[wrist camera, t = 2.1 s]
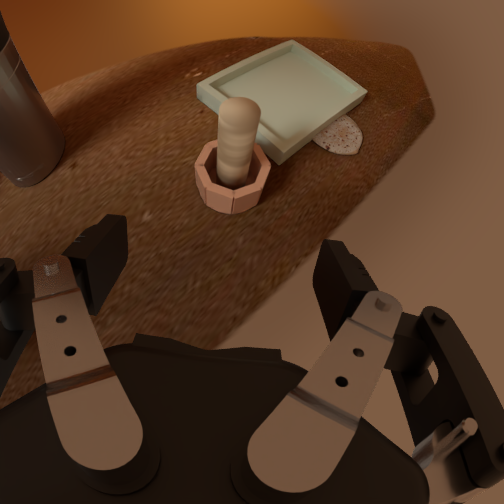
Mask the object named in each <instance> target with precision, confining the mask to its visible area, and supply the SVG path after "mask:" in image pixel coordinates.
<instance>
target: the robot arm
mask: <svg viewBox="0 0 504 504" xmlns="http://www.w3.org/2000/svg"><path fill="white" fill-rule="evenodd" d="M64 146H65V139H64V135H63V133H62V131H61V129H60V128H59V126H58V124H57V123H56V121H55V119H54V118H53V116H52V114H51V112H50V111H49V109H48V107H47V106H46V104H45V102H44V100H43V99H42V97H41V95H40V93H39V91H38V90H37V88H36V86H35V84H34V83H33V81H32V79H31V77H30V75H29V73H28V71H27V69H26V67H25V65H24V64H23V61H22V60H21V57H20V56H19V54H18V52H17V50H16V47H15V45H14V43H13V41H12V39H11V37H10V35H9V32H8V30H7V28H6V26H5V23H4V20H3V18H2V15H1V12H0V171H1V172H2V173H3V174H4V175H5V176H6V177H7V178H8V179H9V180H10V181H11V182H12V183H13V184H15V185H16V186H19V187H28V186H32V185H34V184H36V183H38V182H40V181H41V180H43V179H44V178H45V177H46V176H47V175H48V174H49V173H50V172H51V171H52V170H53V169H54V168H55V166H56V165H57V163H58V162H59V160H60V158H61V156H62V153H63V150H64ZM127 258H128V240H127V221H126V217H125V216H123V215H112V214H107V215H106V216H105V217H104V218H103V219H102V220H101V221H100V222H99V223H98V224H97V225H93V226H91V227H89V228H87V229H85V230H84V231H83V232H82V233H81V234H80V235H79V237H77V238H76V239H75V240H74V242H72V244H71V245H70V246H69V247H68V248H67V249H66V250H65V251H64V252H63V253H62V254H61V255H50V256H47V257H44V258H42V259H40V260H39V261H37V262H36V263H35V265H34V266H33V270H29V271H17V269H16V265H15V261H14V260H13V259H11V258H0V320H1V321H0V397H1V394H2V392H3V390H4V388H5V386H6V383H7V381H8V379H9V377H10V375H11V373H12V371H13V369H14V367H15V365H16V363H17V361H18V359H19V357H20V355H21V353H22V351H23V350H24V348H25V346H26V344H27V342H28V340H29V339H30V337H31V335H32V333H33V331H34V330H36V335H37V341H38V347H39V352H40V357H41V362H42V367H43V371H44V375H45V380H46V383H45V384H43V385H41V386H40V387H38V388H36V389H34V390H33V391H31V392H29V393H28V394H26V395H24V396H23V397H21V398H19V399H17V400H16V401H14V402H12V403H11V404H9V405H7V406H6V407H4V408H2V409H0V504H463V503H465V502H466V501H468V500H470V499H472V498H473V497H475V496H477V495H479V494H480V493H482V492H484V491H485V490H487V489H489V488H490V487H492V486H493V485H495V484H496V483H498V482H499V481H501V480H502V479H504V409H503V407H502V405H501V403H500V401H499V399H498V397H497V395H496V393H495V391H494V389H493V387H492V385H491V383H490V381H489V380H488V378H487V376H486V374H485V372H484V371H483V369H482V367H481V365H480V363H479V362H478V360H477V358H476V356H475V355H474V353H473V351H472V349H471V348H470V346H469V344H468V343H467V341H466V340H465V338H464V336H463V335H462V333H461V331H460V330H459V328H458V327H457V325H456V324H455V322H454V321H453V319H452V318H451V317H450V315H449V314H448V313H446V312H445V311H443V310H442V309H439V308H437V307H433V306H427V307H425V308H424V309H423V311H422V312H421V314H420V316H415V315H411V314H408V313H404V312H402V306H401V304H400V302H399V301H398V300H397V299H396V298H394V297H393V296H391V295H390V294H387V293H385V292H382V291H379V290H378V288H377V286H376V285H375V283H374V282H373V280H372V278H371V276H369V273H368V272H367V270H365V267H364V265H363V264H362V262H361V261H360V260H359V259H358V258H357V257H355V256H354V255H353V254H350V253H349V251H348V250H347V248H346V246H345V245H344V243H343V242H342V241H336V240H328V239H324V240H323V242H322V245H321V248H320V252H319V255H318V259H317V262H316V266H315V269H314V273H313V288H314V291H315V294H316V297H317V300H318V303H319V306H320V309H321V313H322V316H323V319H324V322H325V325H326V329H327V332H328V335H329V338H330V344H329V345H328V346H327V348H326V349H325V350H324V352H323V353H322V355H321V356H320V357H319V359H318V360H317V361H316V363H315V364H314V365H313V367H312V368H311V369H310V371H307V370H305V369H303V368H302V367H300V366H298V365H295V364H293V363H290V362H287V361H284V360H282V357H281V350H280V349H266V348H252V347H240V348H230V349H219V350H204V349H200V348H197V347H194V346H191V345H188V344H185V343H182V342H179V341H176V340H173V339H170V338H163V337H157V336H150V335H144V334H138V333H136V335H135V338H134V341H133V343H128V344H120V345H116V346H112V347H109V348H106V349H103V348H102V346H101V343H100V341H99V339H98V336H97V334H96V331H95V329H94V326H93V323H92V321H91V318H90V316H89V315H94V316H97V314H98V312H99V310H100V308H101V307H102V305H103V303H104V301H105V299H106V298H107V296H108V294H109V292H110V291H111V289H112V287H113V285H114V284H115V282H116V280H117V279H118V277H119V275H120V273H121V272H122V270H123V268H124V267H125V265H126V262H127ZM433 360H434V362H435V365H436V367H437V369H438V380H437V383H436V384H435V385H434V382H433V380H432V378H431V375H430V373H429V371H428V369H427V368H428V367H429V365H430V364H431V363H432V361H433ZM383 368H385V369H389V370H391V373H392V376H393V379H394V382H395V384H396V387H397V390H398V393H399V396H400V399H401V402H402V405H403V408H404V412H405V415H406V418H407V421H408V425H409V428H410V431H411V435H412V438H413V442H414V445H415V449H414V451H413V454H412V457H410V456H409V455H408V454H406V453H405V452H404V451H403V450H402V449H400V448H399V447H398V446H397V445H395V444H394V443H393V442H392V441H390V440H389V439H388V438H387V437H386V436H384V435H383V434H382V433H381V432H379V431H378V430H377V429H376V428H375V427H374V426H372V425H371V424H370V423H369V422H367V421H366V420H365V419H364V418H362V416H361V415H362V414H363V412H364V409H365V407H366V405H367V403H368V401H369V399H370V397H371V395H372V392H373V391H374V388H375V386H376V384H377V382H378V379H379V377H380V374H381V372H382V370H383Z"/></svg>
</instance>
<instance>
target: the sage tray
mask: <svg viewBox="0 0 504 504" xmlns="http://www.w3.org/2000/svg"><path fill="white" fill-rule="evenodd" d="M367 92H368V91H366V90H365V89H364V88H362V87H361V86H360V85H359V84H357V83H356V82H355V81H353V80H352V79H351V78H349V77H348V76H347V75H345V74H344V73H343V72H341V71H340V70H338V69H337V68H336V67H334V66H333V65H331V64H330V63H328V62H327V61H325V60H324V59H322V58H321V57H319V56H318V55H316V54H315V53H313V52H312V51H310V50H309V49H307V48H305V47H304V46H302V45H301V44H299V43H297V42H296V41H294V40H289V41H287V42H284V43H281V44H279V45H277V46H274V47H272V48H269V49H267V50H265V51H262V52H260V53H258V54H255V55H253V56H251V57H249V58H247V59H245V60H242V61H240V62H238V63H236V64H234V65H232V66H230V67H228V68H226V69H224V70H222V71H220V72H218V73H216V74H214V75H212V76H210V77H209V78H207V79H205V80H203V81H201V82H199V83H198V84H197V98H198V99H199V100H200V101H202V102H203V103H204V104H206V105H207V106H208V107H209V108H211V109H212V110H213V111H214V112H216V113H217V114H218V115H219V108H220V105H221V104H222V103H223V102H224V101H225V100H227V99H229V98H232V97H245V98H249V99H251V100H253V101H254V102H256V103H257V104H258V106H259V107H260V109H261V116H260V121H259V125H258V129H257V134H256V139H255V143H258V144H257V145H260V147H261V149H262V150H263V152H264V153H265V154H267V155H268V156H269V157H270V158H271V159H272V160H273V161H275V162H276V163H277V164H278V165H281V164H282V163H283V162H284V161H285V160H287V159H288V158H289V157H290V156H292V155H293V154H294V153H296V152H297V151H298V150H299V149H301V148H302V147H303V146H304V145H306V144H307V143H308V142H310V141H311V140H312V138H313V137H314V136H315V135H316V134H317V133H319V132H320V131H321V130H323V129H324V128H325V127H327V126H328V125H329V124H331V123H332V122H333V121H335V120H336V119H337V118H339V117H340V116H342V115H343V114H346V113H348V112H349V111H350V110H352V109H353V108H354V107H356V106H357V105H358V104H360V103H361V102H362V100H363V98H364V97H365V95H366V93H367Z"/></svg>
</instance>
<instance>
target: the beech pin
mask: <svg viewBox="0 0 504 504" xmlns="http://www.w3.org/2000/svg"><path fill="white" fill-rule="evenodd" d="M260 116H261V109H260V107H259V106H258V104H257V103H256V102H254V101H253V100H251V99H249V98H245V97H232V98H229V99H227V100H225V101H224V102H223V103H222V104H221V105H220V108H219V121H218V144H217V173H216V184H217V185H220V186H222V187H225V188H228V189H231V190H233V191H234V190H237V189H240V188H242V187H245V185H246V180H247V175H248V171H249V166H250V161H251V157H252V152H253V148H254V143H255V139H256V134H257V129H258V125H259V121H260Z"/></svg>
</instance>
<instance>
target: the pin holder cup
mask: <svg viewBox="0 0 504 504" xmlns="http://www.w3.org/2000/svg"><path fill="white" fill-rule="evenodd" d="M217 144H218V139H217V140H214V141H211V142H208V143H207V144H206V145H205V146H204V148H203V150H202V152H201V154H200V155H199V157H198V159H197V161H196V163H195V175H196V184H197V187H198V189H199V192H200V195H201V197H202V199H203V201H204V202H205V204H207V206H209V207H210V208H212V209H213V210H215V211H217V212H220V213H223V214H230V215H231V214H239V213H242V212H245V211H247V210H249V209H251V208H252V207H254V206H256V204H257V203H258V201H259V198H260V196H261V193H262V191H263V188H264V186H265V183H266V180H267V177H268V174H269V171H270V168H271V164H270V162H269V161H268V159H267V157H266V155H265V154H264V152H263V150H262V149H261V147H260V145H257V144H258V143H254V148H253V152H252V157H251V161H250V166H249V171H248V175H247V180H246V185H245V187H242V188H240V189H237V190H234V191H233V190H231V189H228V188H225V187H222V186H220V185H217V184H216V173H217Z"/></svg>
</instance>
